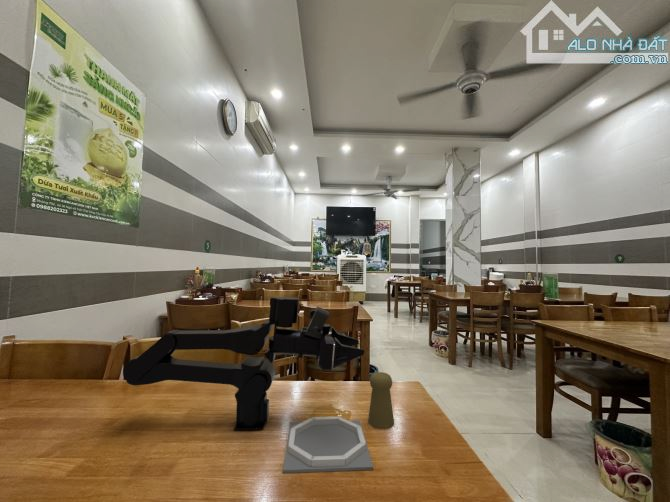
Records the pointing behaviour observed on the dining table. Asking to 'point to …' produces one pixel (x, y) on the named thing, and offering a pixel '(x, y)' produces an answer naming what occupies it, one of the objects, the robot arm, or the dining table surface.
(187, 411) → the dining table surface
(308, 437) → the collar plate
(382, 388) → the olive brown pawn
